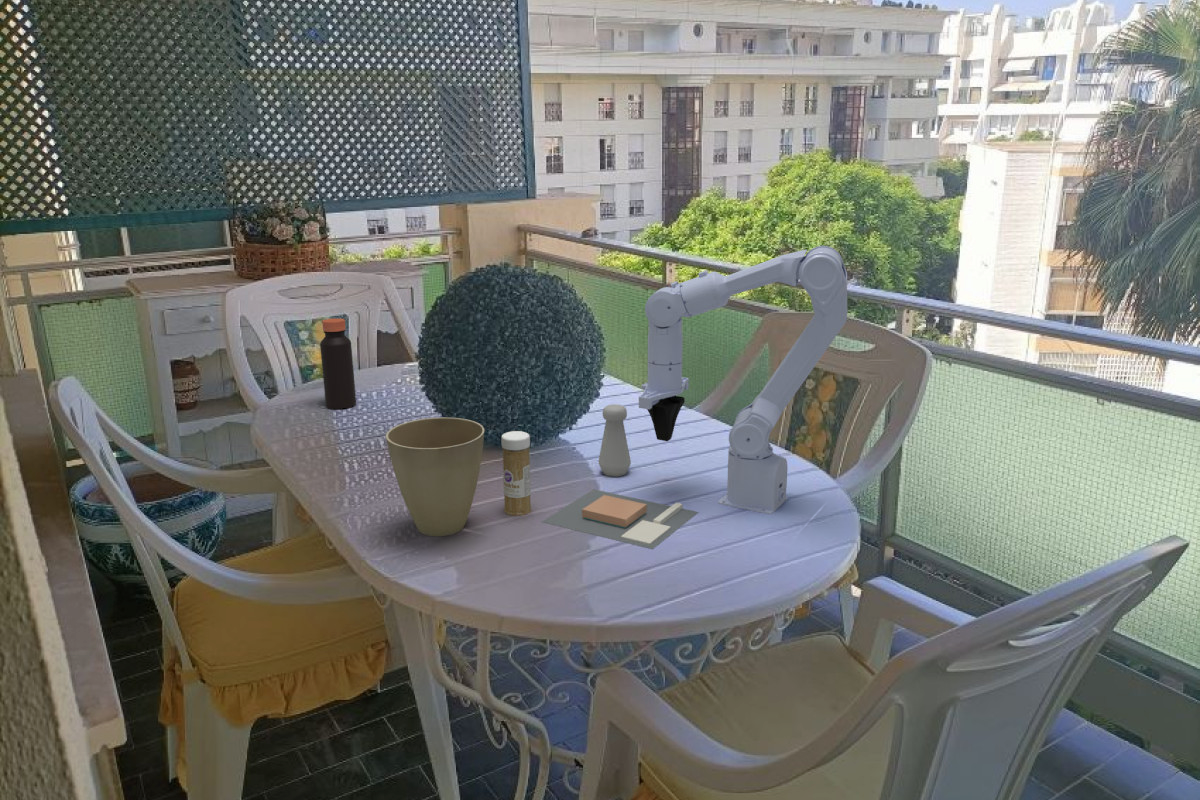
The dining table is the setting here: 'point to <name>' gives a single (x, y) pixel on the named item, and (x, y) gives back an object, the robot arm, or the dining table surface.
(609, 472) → the salt shaker
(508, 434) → the sprinkles bottle
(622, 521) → the tile
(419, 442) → the plant pot
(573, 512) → the mat
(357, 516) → the dining table surface
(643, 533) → the turner
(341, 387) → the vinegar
